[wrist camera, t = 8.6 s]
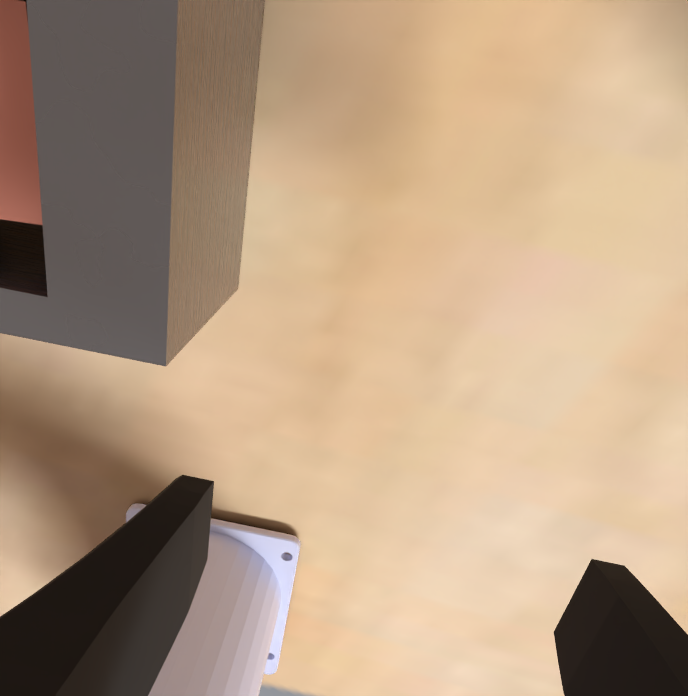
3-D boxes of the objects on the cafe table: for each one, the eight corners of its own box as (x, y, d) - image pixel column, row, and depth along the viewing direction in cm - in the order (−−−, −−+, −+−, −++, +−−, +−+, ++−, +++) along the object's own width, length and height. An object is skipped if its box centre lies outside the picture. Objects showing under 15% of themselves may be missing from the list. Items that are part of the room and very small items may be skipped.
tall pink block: (138, 198, 18) (51, 226, 14) (82, 190, 18) (-22, 215, 14) (131, 33, 16) (25, 1, 11) (68, 25, 16) (-62, -10, 12)
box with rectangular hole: (238, 288, 19) (165, 366, 13) (-27, 236, 19) (-215, 289, 13) (268, -39, 15) (182, -142, 9) (-70, -103, 15) (-374, -246, 9)
